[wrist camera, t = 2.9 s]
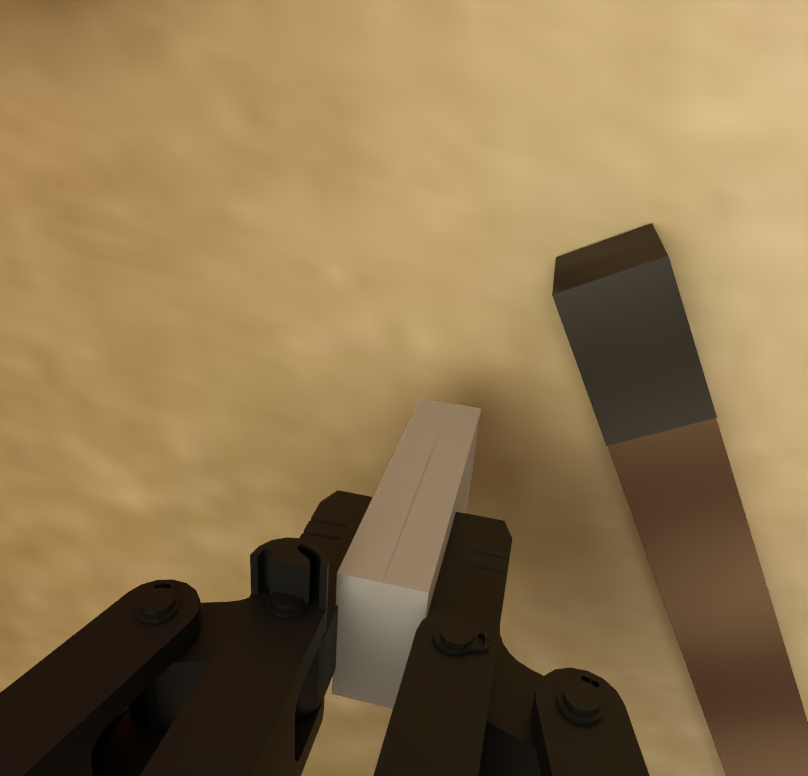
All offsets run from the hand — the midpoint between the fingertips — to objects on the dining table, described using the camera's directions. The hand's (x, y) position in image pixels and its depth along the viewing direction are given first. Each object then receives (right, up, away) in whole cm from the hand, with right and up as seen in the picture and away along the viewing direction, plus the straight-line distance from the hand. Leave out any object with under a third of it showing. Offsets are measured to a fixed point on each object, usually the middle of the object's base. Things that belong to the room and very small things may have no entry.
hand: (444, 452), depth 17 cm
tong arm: (+9, -5, +5) cm, 11 cm away
